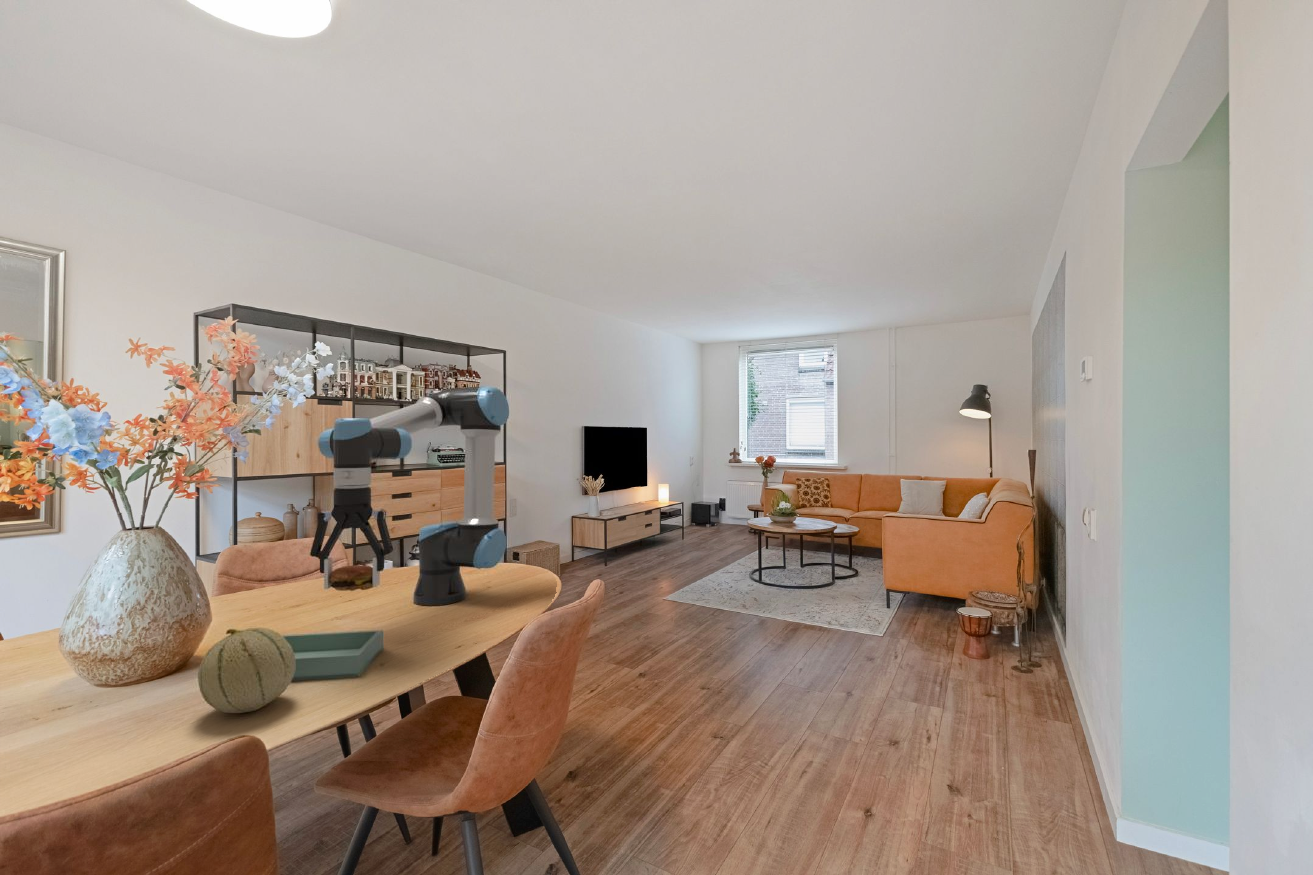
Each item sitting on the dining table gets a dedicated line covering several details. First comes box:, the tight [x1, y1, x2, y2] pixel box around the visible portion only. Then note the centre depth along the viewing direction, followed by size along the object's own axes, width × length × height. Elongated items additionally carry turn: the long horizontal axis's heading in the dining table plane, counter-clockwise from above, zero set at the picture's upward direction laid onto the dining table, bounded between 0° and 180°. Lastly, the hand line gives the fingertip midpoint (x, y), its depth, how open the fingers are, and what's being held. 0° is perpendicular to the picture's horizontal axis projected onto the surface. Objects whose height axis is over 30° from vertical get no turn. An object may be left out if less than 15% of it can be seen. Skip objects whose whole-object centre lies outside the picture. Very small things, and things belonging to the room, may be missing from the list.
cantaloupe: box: [197, 627, 296, 714], centre depth 108 cm, size 15×15×15 cm
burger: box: [330, 565, 374, 592], centre depth 133 cm, size 10×9×5 cm
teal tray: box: [281, 629, 384, 682], centre depth 128 cm, size 16×24×4 cm, turn 98°
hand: (352, 586), depth 132 cm, fingers closed on burger, 9 cm apart
